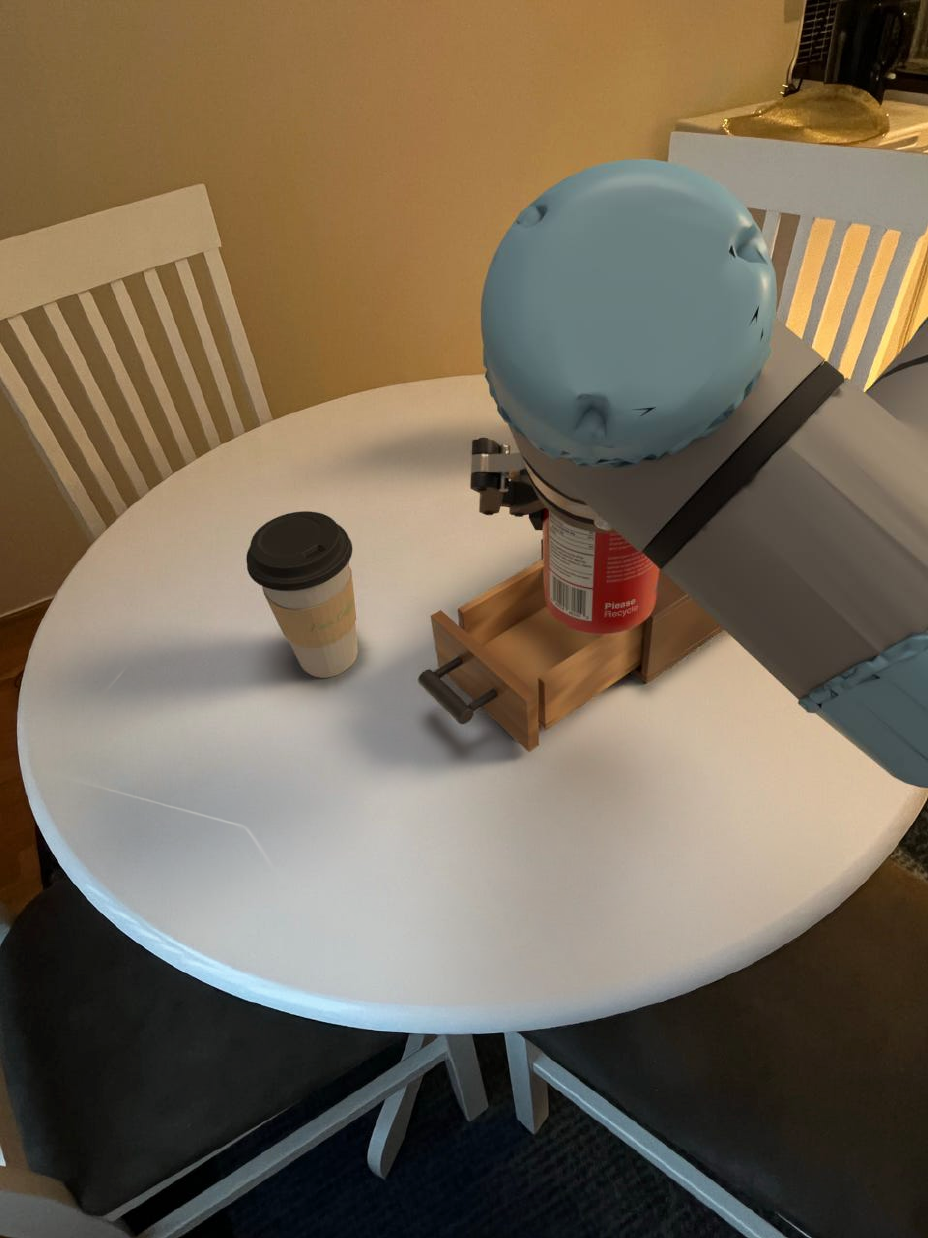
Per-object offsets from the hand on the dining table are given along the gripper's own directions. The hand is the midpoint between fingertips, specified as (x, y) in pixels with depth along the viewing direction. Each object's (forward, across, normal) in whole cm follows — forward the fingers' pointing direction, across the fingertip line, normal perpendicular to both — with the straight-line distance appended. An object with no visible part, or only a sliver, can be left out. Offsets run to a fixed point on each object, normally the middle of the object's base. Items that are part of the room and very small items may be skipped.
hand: (600, 511), depth 58 cm
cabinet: (+28, +6, -5) cm, 29 cm away
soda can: (+2, 0, -6) cm, 7 cm away
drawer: (+19, -6, -13) cm, 24 cm away
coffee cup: (+22, -26, -12) cm, 36 cm away
